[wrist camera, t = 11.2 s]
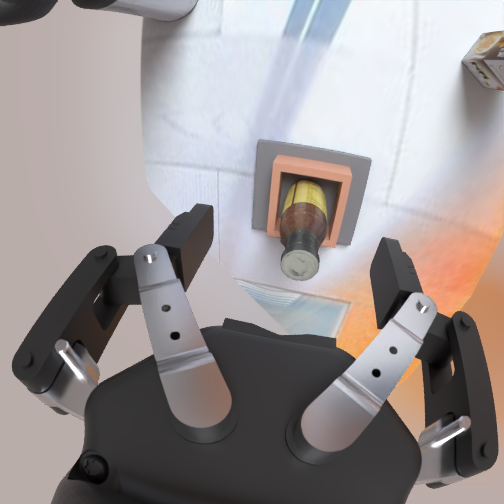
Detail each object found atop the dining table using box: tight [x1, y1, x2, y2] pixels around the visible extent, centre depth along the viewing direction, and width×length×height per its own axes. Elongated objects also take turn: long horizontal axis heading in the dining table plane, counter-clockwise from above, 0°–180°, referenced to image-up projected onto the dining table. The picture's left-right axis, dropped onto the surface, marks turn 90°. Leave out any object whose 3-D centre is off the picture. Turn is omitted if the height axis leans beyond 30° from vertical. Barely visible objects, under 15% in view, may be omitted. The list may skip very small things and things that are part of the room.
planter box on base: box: [252, 139, 372, 248], centre depth 43 cm, size 18×16×6 cm
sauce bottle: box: [279, 179, 327, 281], centre depth 36 cm, size 7×6×20 cm
